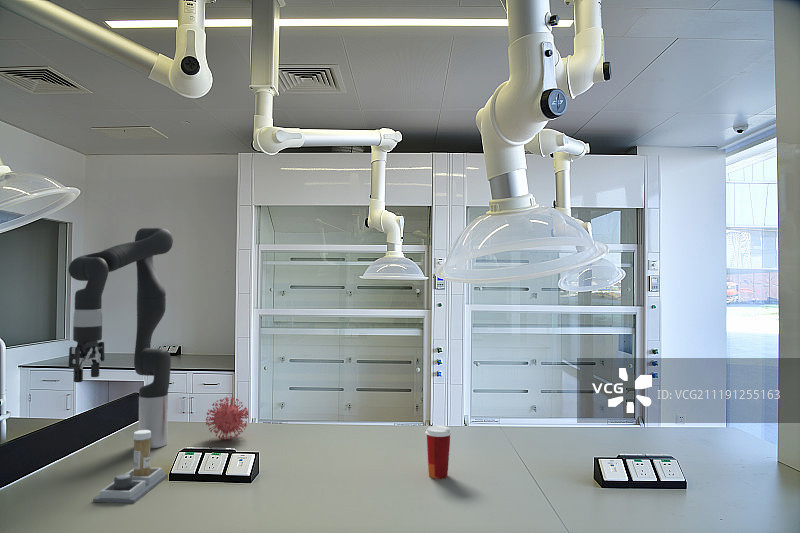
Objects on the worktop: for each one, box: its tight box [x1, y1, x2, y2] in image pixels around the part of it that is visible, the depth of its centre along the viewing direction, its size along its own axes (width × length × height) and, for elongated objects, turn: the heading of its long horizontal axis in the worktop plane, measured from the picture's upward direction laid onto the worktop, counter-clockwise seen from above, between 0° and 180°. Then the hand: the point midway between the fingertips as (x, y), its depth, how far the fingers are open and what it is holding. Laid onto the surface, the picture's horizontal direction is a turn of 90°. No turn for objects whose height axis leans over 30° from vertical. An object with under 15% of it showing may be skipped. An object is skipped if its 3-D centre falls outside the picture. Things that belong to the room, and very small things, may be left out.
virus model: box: [205, 396, 250, 440], centre depth 207 cm, size 15×15×15 cm
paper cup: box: [424, 425, 452, 480], centre depth 171 cm, size 8×8×14 cm
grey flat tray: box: [92, 466, 168, 504], centre depth 158 cm, size 19×11×5 cm, turn 178°
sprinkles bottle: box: [132, 429, 151, 477], centre depth 164 cm, size 5×5×13 cm
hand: (86, 379), depth 169 cm, fingers open, 8 cm apart
